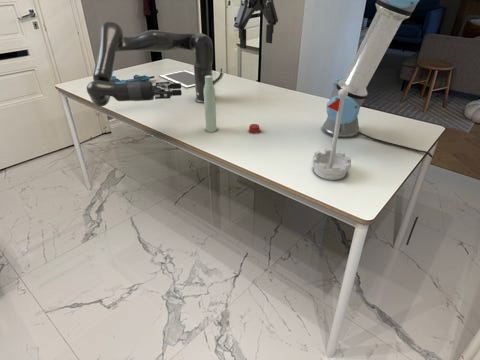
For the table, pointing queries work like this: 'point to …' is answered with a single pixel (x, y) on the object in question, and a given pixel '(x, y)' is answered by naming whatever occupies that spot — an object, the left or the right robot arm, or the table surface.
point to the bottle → (210, 105)
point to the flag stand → (333, 149)
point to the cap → (254, 128)
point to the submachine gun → (136, 79)
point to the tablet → (181, 78)
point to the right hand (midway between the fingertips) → (256, 45)
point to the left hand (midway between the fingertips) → (181, 89)
